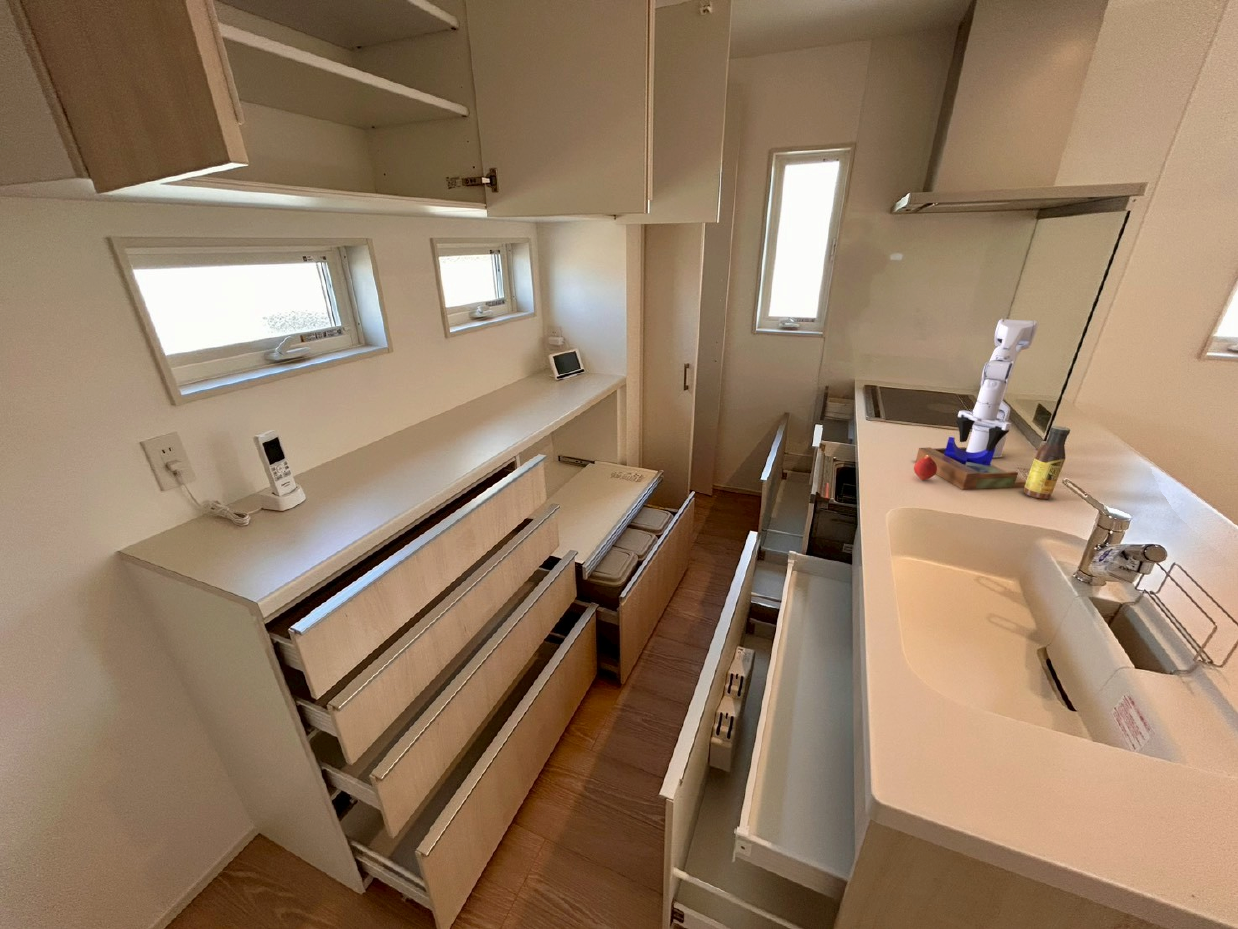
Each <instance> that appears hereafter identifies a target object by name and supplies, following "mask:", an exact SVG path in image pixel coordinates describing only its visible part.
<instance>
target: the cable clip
mask: <svg viewBox="0 0 1238 929" xmlns="http://www.w3.org/2000/svg"><path fill="white" fill-rule="evenodd" d="M955 440H956V438H955V437H954V436H948V439H947V442H946V446H945V448H946V450H945V454H944V455H946V456H948V457H950V458H952V459H954V460H956V461H957V462H959V463H961V464H966V462H971V463H976V464H981V465H987V466H990V464H991V463H992V460H993V459H994V458H993V455H994V452H995V448H996V446H995V448H994V450H993V451H986V449H985V450H983V451H981V452H975V453H971V452H966V451H963V450H961V449H960V448H958V447H959V446H958V445H957V444H956V441H955Z"/></svg>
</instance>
